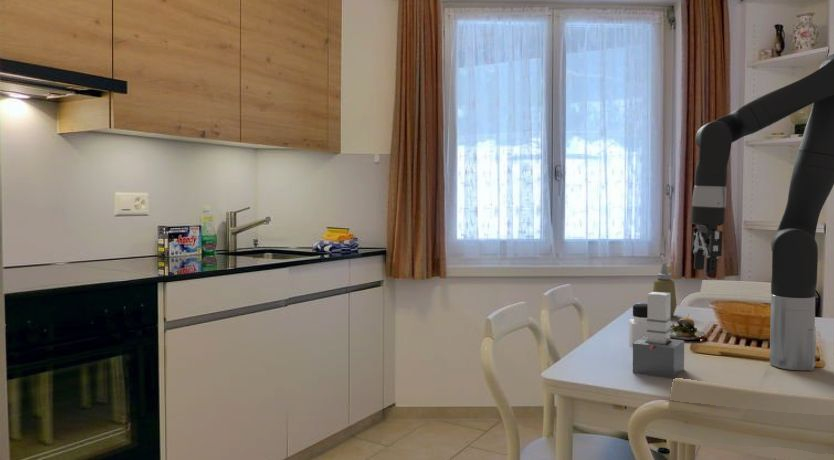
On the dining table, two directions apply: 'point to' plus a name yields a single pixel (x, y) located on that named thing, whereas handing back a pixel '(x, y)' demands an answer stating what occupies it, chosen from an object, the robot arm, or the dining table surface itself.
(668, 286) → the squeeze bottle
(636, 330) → the medicine bottle
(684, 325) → the burger
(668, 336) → the column
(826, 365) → the dining table surface
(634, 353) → the sleeve
